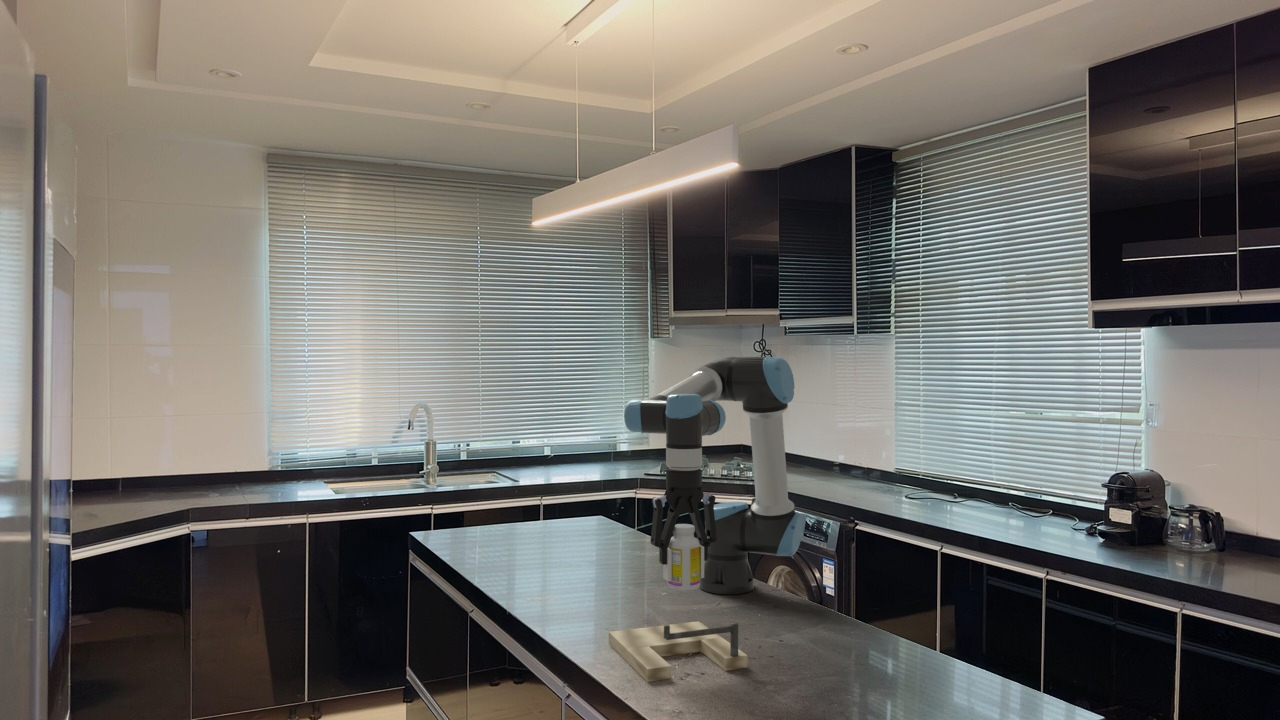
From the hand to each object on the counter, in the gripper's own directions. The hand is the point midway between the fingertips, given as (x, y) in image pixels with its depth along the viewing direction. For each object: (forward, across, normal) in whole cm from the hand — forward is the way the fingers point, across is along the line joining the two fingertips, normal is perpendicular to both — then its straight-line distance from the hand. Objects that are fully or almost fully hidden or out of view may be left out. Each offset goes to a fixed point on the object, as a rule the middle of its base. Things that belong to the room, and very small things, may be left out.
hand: (683, 577), depth 177 cm
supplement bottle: (+2, 0, 0) cm, 2 cm away
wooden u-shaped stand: (+18, 0, -4) cm, 18 cm away
